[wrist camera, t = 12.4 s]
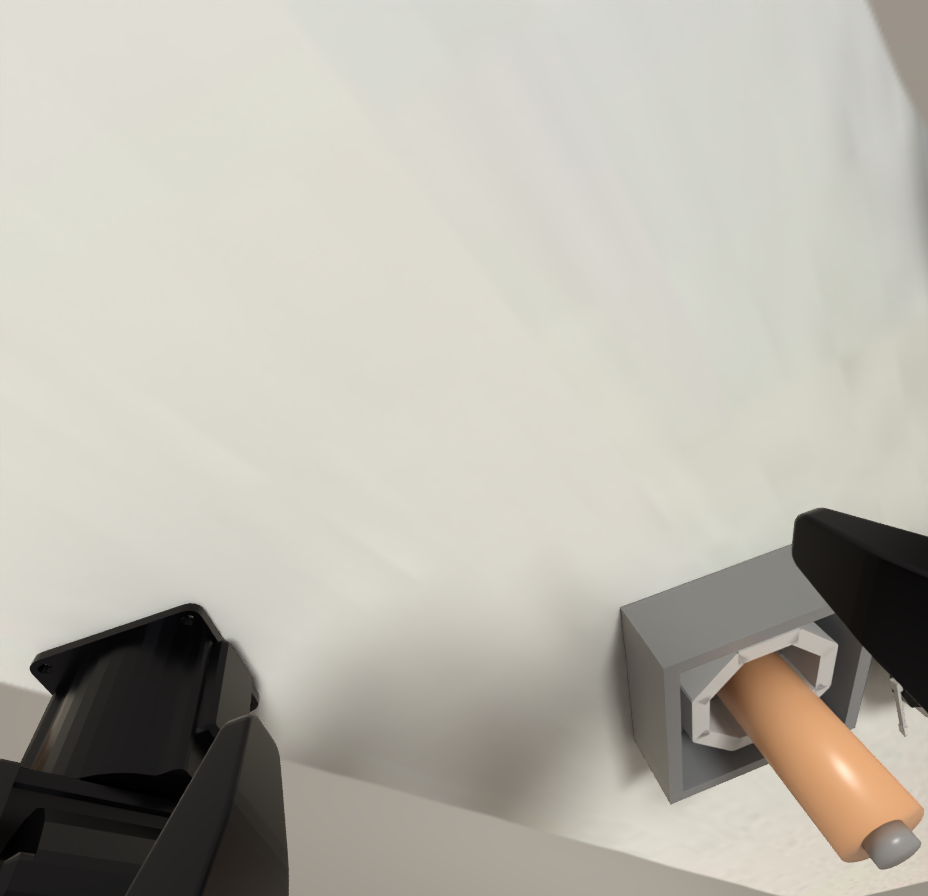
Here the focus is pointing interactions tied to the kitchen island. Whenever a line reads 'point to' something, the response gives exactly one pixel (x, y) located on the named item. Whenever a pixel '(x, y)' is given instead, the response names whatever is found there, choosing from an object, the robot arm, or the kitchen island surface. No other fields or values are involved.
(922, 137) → the kitchen island surface
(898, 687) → the robot toy
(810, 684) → the housing
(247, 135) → the kitchen island surface
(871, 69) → the kitchen island surface
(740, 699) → the orange cylinder
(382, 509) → the kitchen island surface
